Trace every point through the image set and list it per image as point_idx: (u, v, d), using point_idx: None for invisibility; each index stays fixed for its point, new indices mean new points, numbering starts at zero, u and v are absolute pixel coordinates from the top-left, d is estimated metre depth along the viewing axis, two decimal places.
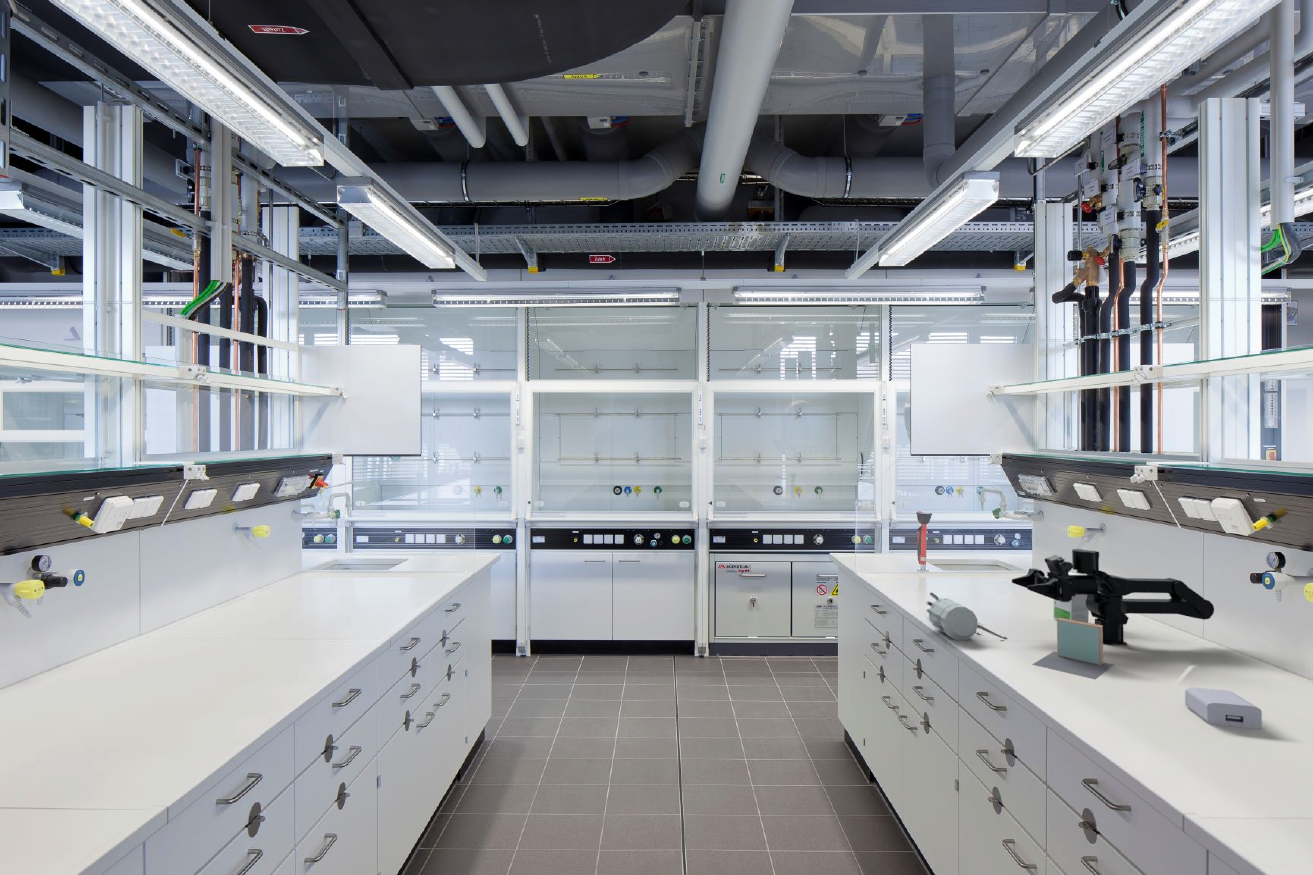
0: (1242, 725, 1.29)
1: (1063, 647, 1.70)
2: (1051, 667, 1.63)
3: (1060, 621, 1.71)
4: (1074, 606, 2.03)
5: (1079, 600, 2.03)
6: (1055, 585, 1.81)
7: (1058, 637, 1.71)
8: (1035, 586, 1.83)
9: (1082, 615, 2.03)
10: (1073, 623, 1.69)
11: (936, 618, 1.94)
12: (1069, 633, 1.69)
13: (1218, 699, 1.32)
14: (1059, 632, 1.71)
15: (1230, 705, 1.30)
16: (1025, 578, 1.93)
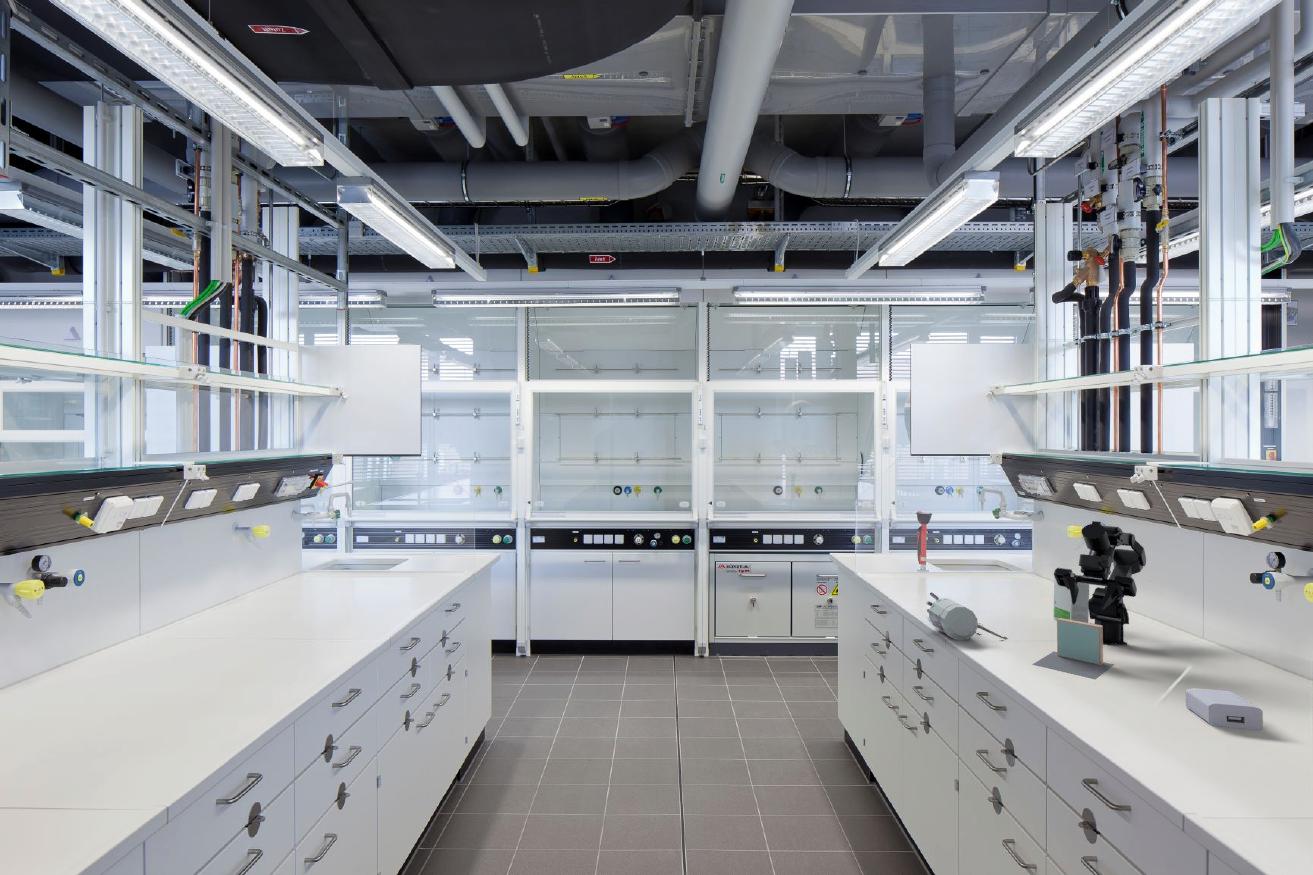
0: (1243, 726, 1.29)
1: (1063, 647, 1.70)
2: (1051, 667, 1.63)
3: (1060, 621, 1.71)
4: (1074, 606, 2.03)
5: (1079, 600, 2.03)
6: (1117, 588, 1.72)
7: (1058, 637, 1.71)
8: (1106, 602, 1.71)
9: (1082, 615, 2.03)
10: (1073, 623, 1.69)
11: (936, 619, 1.94)
12: (1069, 633, 1.69)
13: (1219, 700, 1.32)
14: (1059, 632, 1.71)
15: (1231, 706, 1.30)
16: (1075, 590, 1.78)
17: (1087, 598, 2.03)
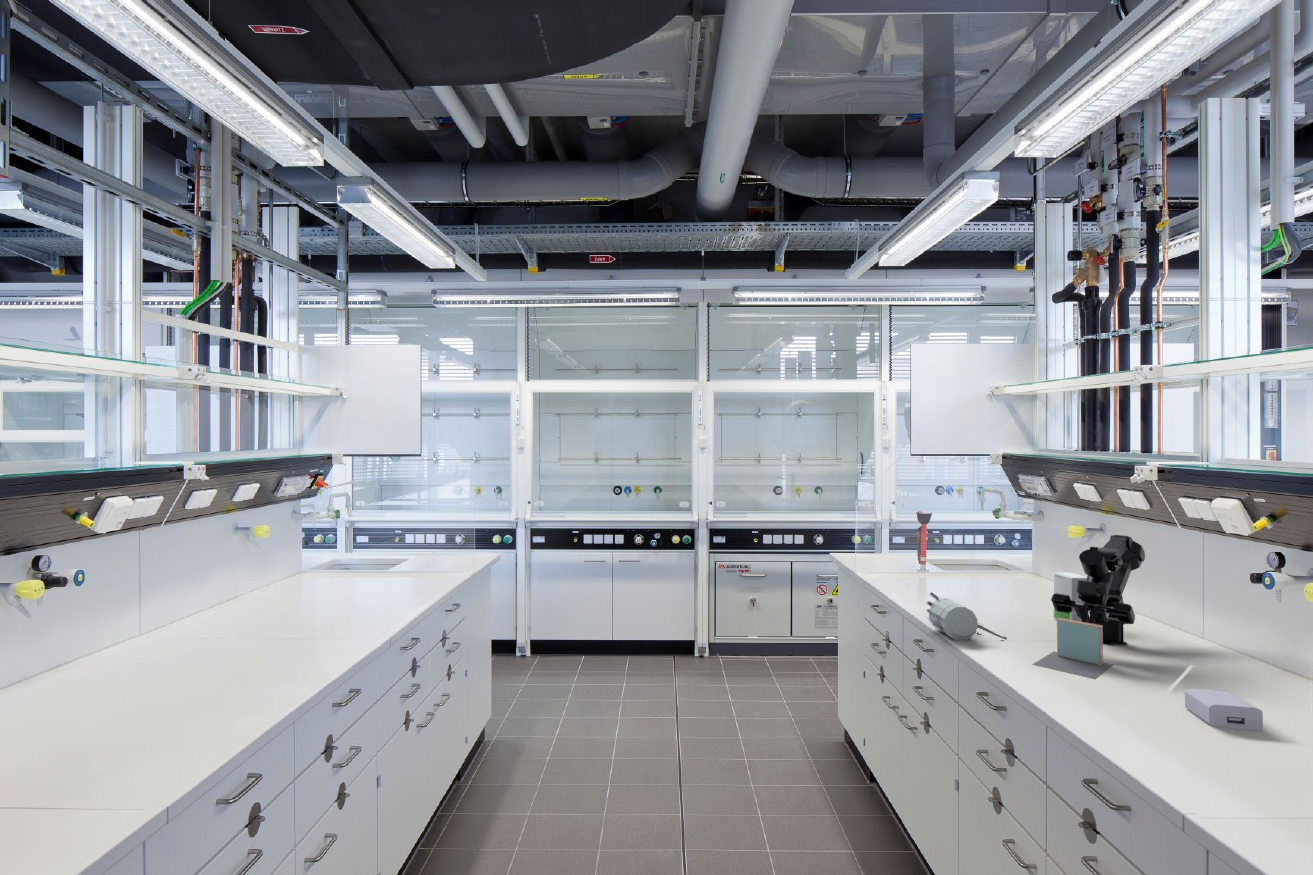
0: (1243, 727, 1.29)
1: (1063, 647, 1.70)
2: (1051, 667, 1.63)
3: (1060, 621, 1.71)
4: None
5: None
6: (1101, 613, 1.72)
7: (1058, 637, 1.71)
8: None
9: None
10: (1073, 623, 1.69)
11: (936, 618, 1.94)
12: (1069, 633, 1.69)
13: (1219, 701, 1.32)
14: (1059, 632, 1.71)
15: (1231, 707, 1.29)
16: (1086, 619, 1.74)
17: None
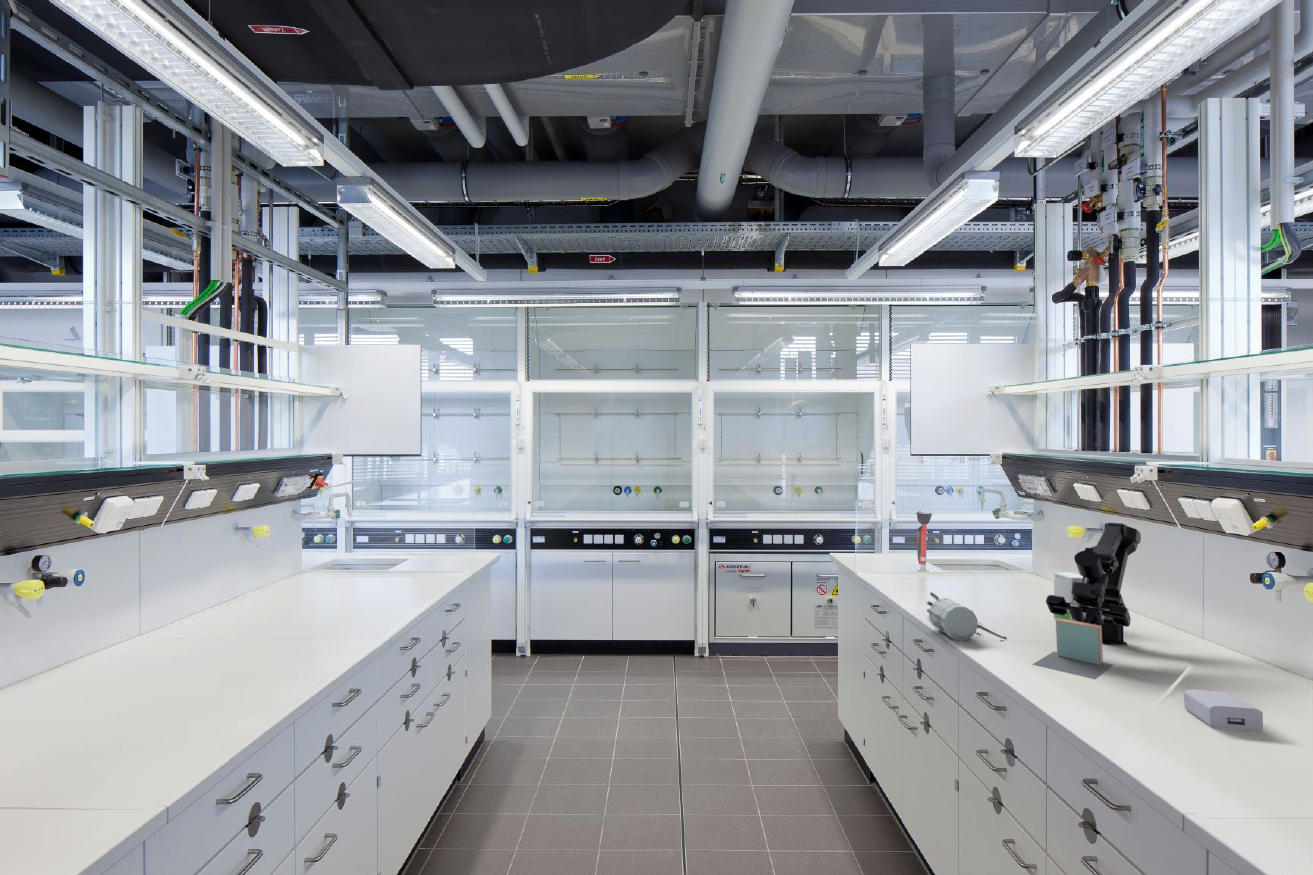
0: (1244, 728, 1.28)
1: (1063, 647, 1.70)
2: (1051, 667, 1.63)
3: (1059, 622, 1.71)
4: None
5: None
6: (1096, 615, 1.70)
7: (1057, 638, 1.71)
8: None
9: None
10: (1072, 624, 1.68)
11: (936, 618, 1.94)
12: (1068, 634, 1.69)
13: (1219, 702, 1.31)
14: (1058, 633, 1.71)
15: (1232, 708, 1.29)
16: (1081, 621, 1.71)
17: None
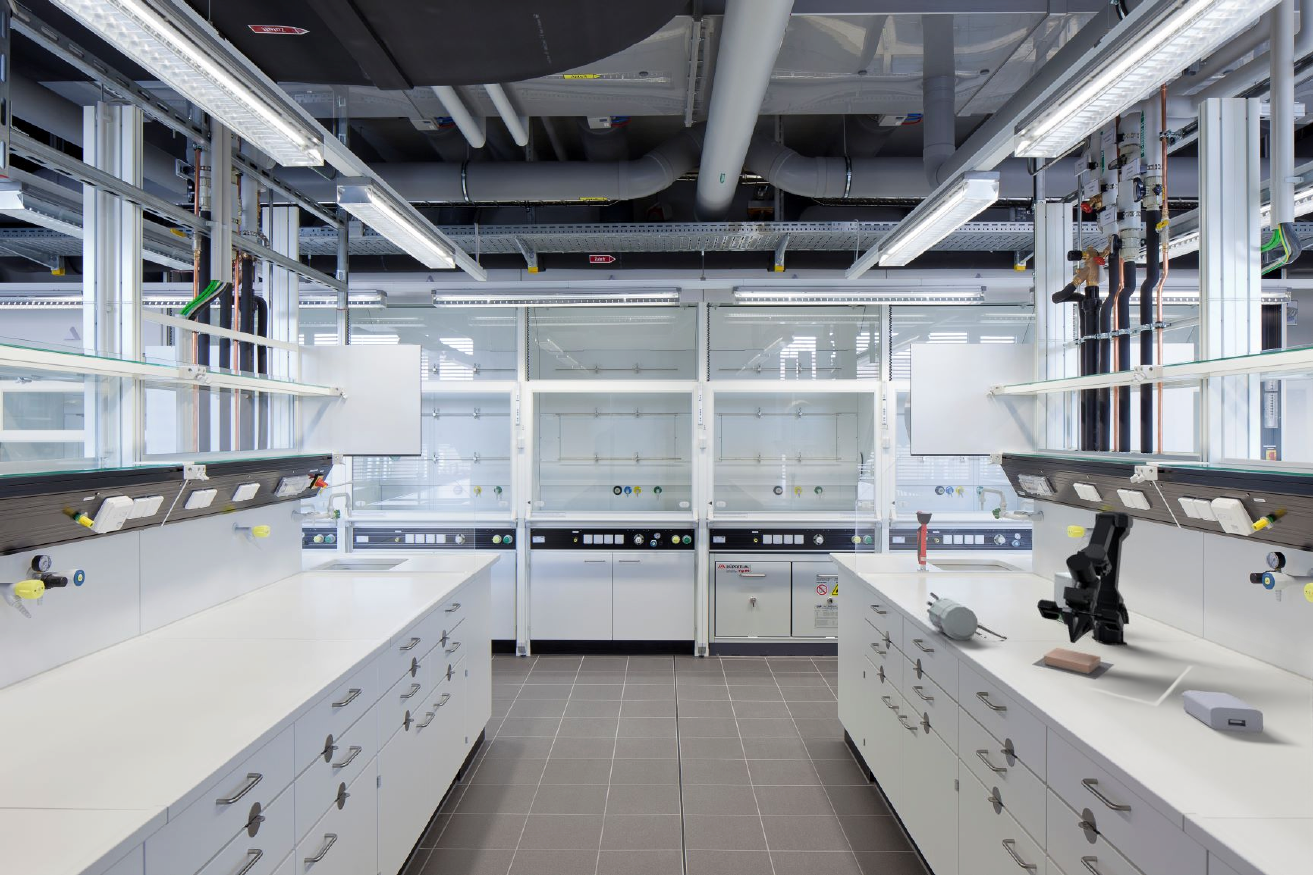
0: (1244, 729, 1.28)
1: None
2: (1051, 667, 1.63)
3: (1048, 664, 1.65)
4: None
5: None
6: (1089, 620, 1.65)
7: None
8: (1077, 635, 1.65)
9: None
10: None
11: (936, 618, 1.94)
12: None
13: (1219, 703, 1.30)
14: None
15: (1232, 709, 1.28)
16: (1073, 626, 1.67)
17: None
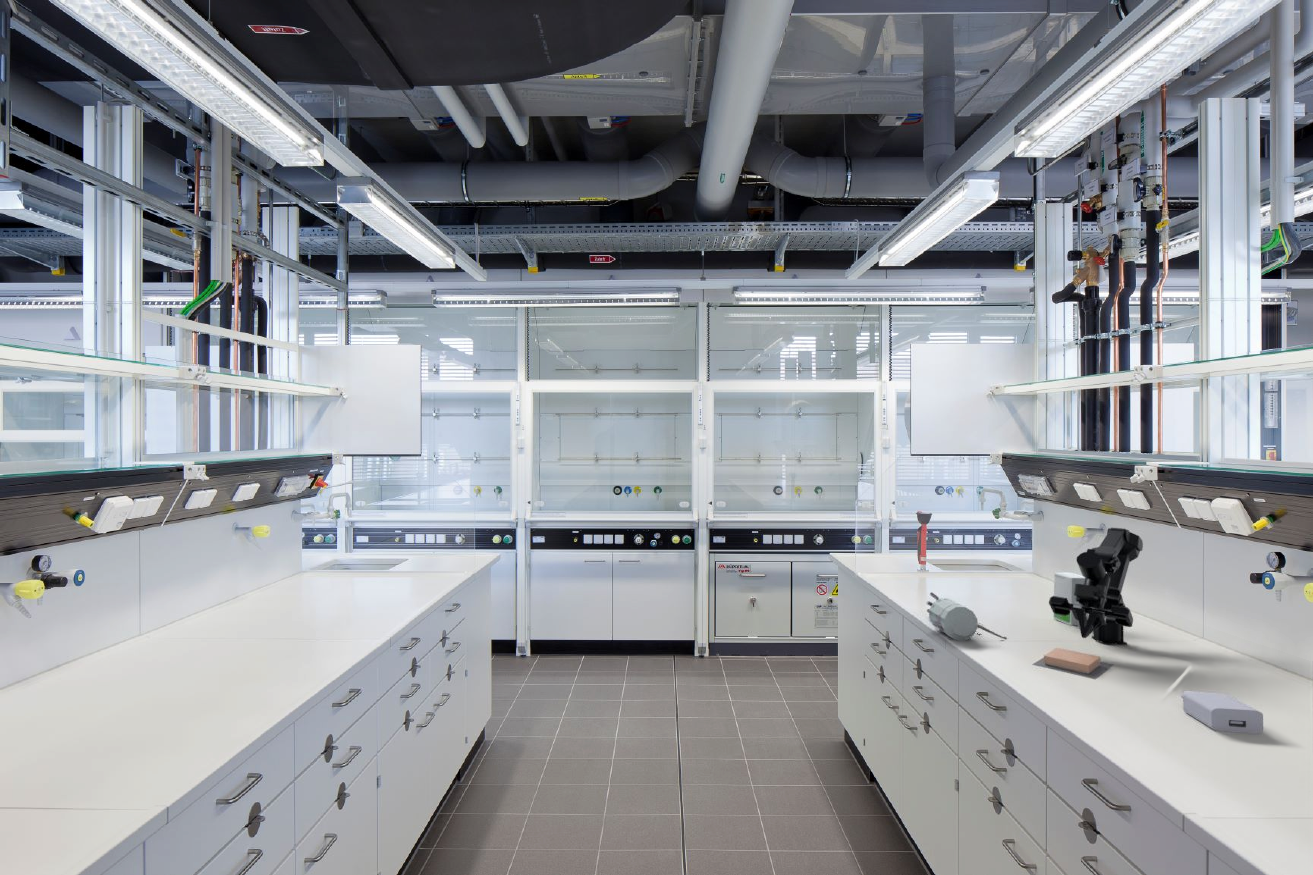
0: (1245, 730, 1.27)
1: None
2: (1051, 667, 1.63)
3: (1048, 664, 1.65)
4: None
5: None
6: (1099, 616, 1.71)
7: None
8: (1088, 630, 1.71)
9: None
10: None
11: (936, 618, 1.94)
12: None
13: (1220, 704, 1.30)
14: None
15: (1233, 710, 1.28)
16: (1084, 622, 1.73)
17: None
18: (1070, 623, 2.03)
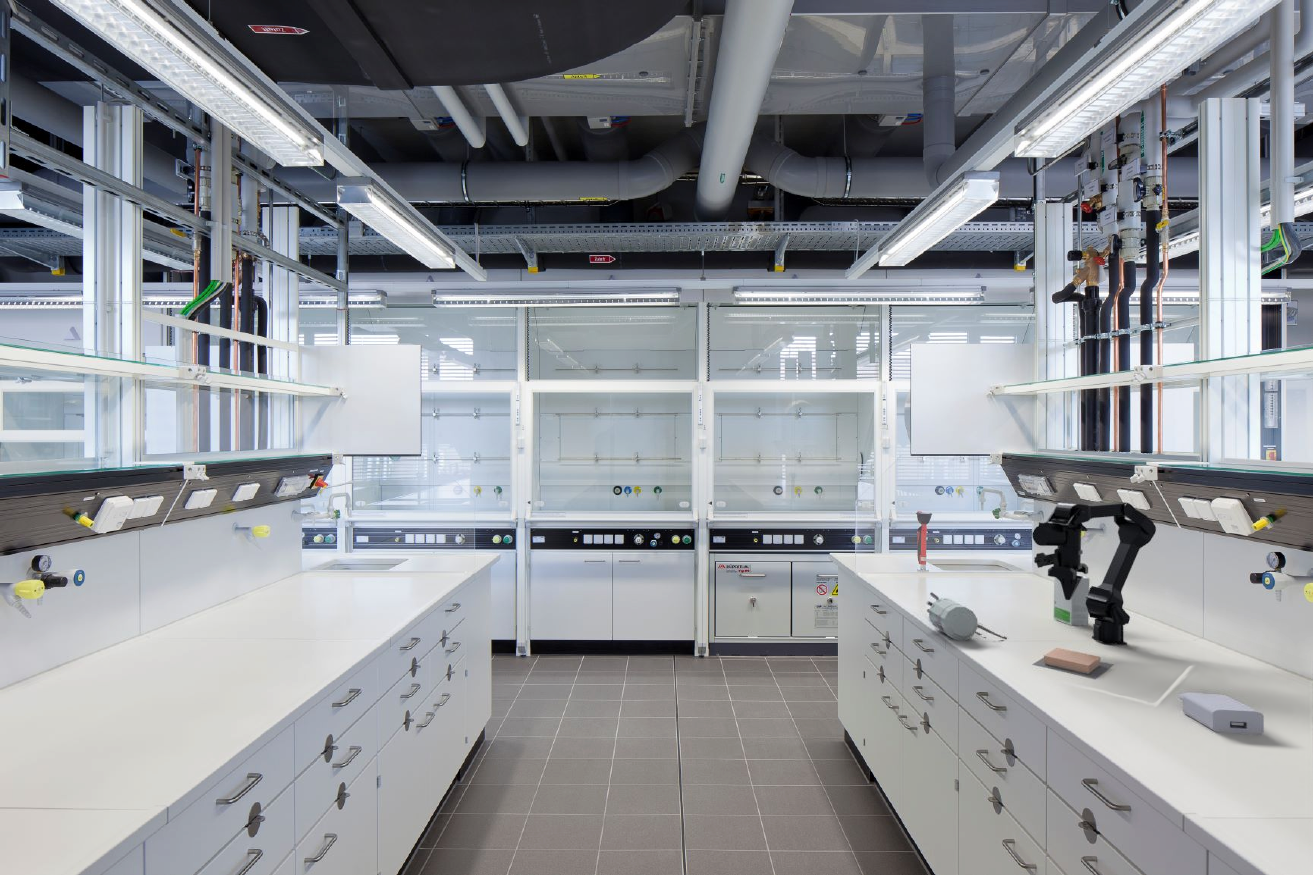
0: (1245, 731, 1.27)
1: None
2: (1051, 667, 1.63)
3: (1048, 664, 1.65)
4: (1074, 606, 2.03)
5: (1079, 600, 2.03)
6: (1060, 577, 1.82)
7: None
8: (1065, 593, 1.83)
9: (1082, 615, 2.03)
10: None
11: (936, 619, 1.94)
12: None
13: (1220, 705, 1.29)
14: None
15: (1234, 711, 1.27)
16: None
17: None
18: (1070, 623, 2.03)
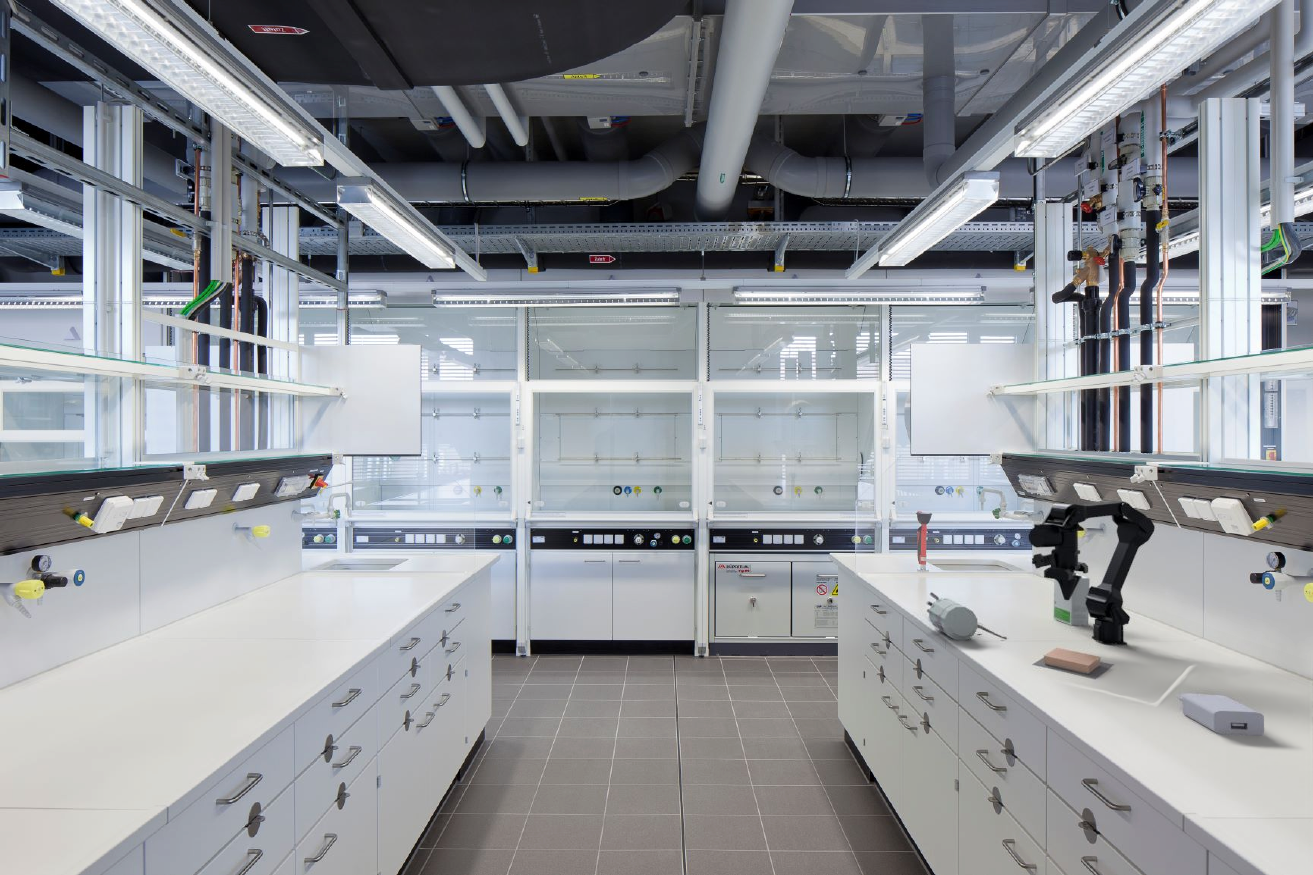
0: (1246, 732, 1.26)
1: None
2: (1051, 667, 1.63)
3: (1048, 664, 1.65)
4: (1074, 606, 2.03)
5: (1079, 600, 2.03)
6: None
7: None
8: (1064, 593, 1.83)
9: (1082, 615, 2.03)
10: None
11: (936, 619, 1.94)
12: None
13: (1221, 706, 1.29)
14: None
15: (1235, 712, 1.26)
16: None
17: None
18: (1070, 623, 2.03)
